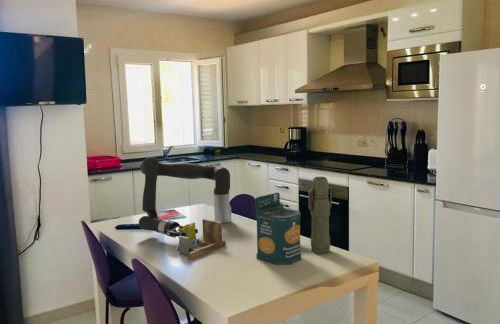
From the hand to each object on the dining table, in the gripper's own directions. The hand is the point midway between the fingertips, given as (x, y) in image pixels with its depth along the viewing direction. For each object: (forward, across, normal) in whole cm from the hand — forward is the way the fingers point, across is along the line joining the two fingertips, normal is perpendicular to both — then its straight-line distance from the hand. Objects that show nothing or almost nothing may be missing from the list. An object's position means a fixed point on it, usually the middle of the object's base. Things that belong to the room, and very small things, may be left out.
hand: (191, 233), depth 208 cm
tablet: (-63, +37, +9) cm, 73 cm away
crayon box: (-2, 0, +7) cm, 7 cm away
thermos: (+53, +32, +7) cm, 62 cm away
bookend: (+5, -8, +8) cm, 12 cm away
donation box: (+44, +14, +8) cm, 46 cm away
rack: (+5, 0, +8) cm, 9 cm away
